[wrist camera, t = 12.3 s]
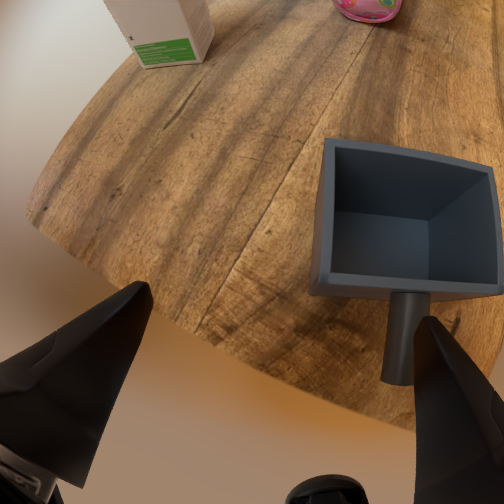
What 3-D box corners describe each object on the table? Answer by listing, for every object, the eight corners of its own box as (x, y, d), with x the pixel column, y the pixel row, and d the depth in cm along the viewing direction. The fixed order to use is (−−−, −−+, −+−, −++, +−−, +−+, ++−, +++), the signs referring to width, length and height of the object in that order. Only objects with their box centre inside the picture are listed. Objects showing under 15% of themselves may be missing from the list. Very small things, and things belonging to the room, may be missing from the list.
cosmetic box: (143, 70, 29) (83, -19, 14) (160, 38, 31) (115, -46, 15) (206, 63, 28) (159, -47, 13) (219, 31, 29) (185, -68, 14)
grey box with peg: (423, 358, 20) (494, 382, 10) (301, 354, 21) (305, 387, 11) (429, 218, 21) (492, 166, 12) (315, 205, 23) (325, 137, 13)
